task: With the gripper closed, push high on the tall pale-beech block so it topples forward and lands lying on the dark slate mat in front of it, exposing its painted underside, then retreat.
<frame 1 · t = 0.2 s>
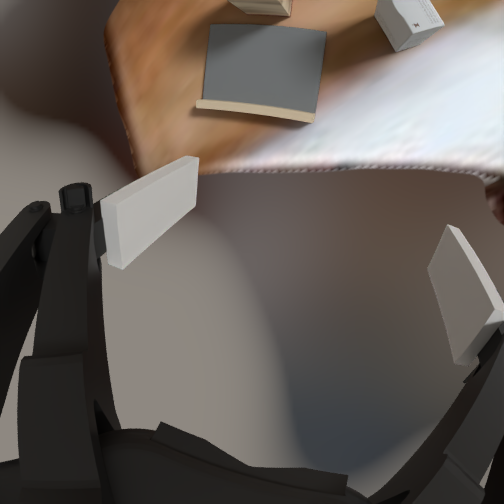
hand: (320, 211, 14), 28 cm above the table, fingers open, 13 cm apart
slate mat: (261, 68, 35), on the table
beech block: (270, 1, 29), on the table
skincare box: (395, 29, 27), on the table
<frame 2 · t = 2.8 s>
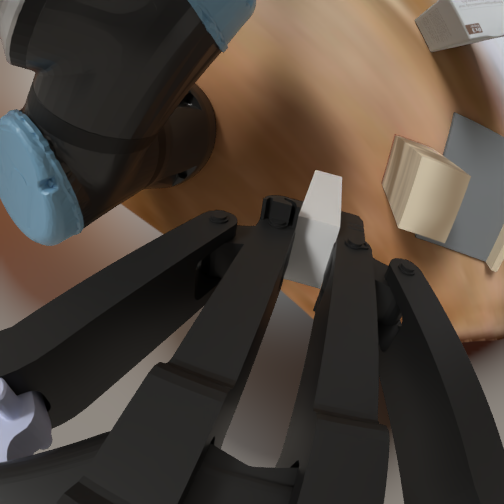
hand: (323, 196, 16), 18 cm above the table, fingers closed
slate mat: (478, 193, 28), on the table
beech block: (406, 164, 30), on the table
skincare box: (442, 33, 20), on the table
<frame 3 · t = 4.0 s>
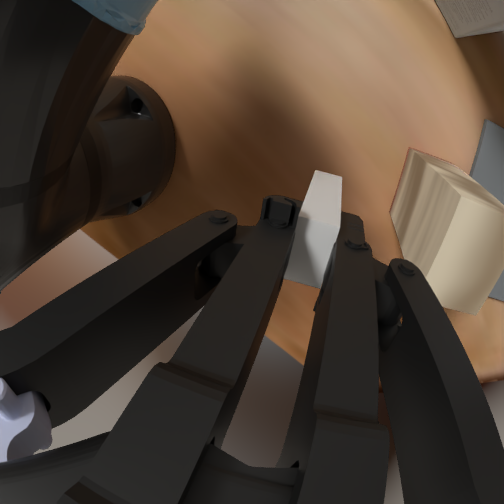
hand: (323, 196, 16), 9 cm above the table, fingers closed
beech block: (422, 188, 22), on the table
skincare box: (467, 15, 13), on the table
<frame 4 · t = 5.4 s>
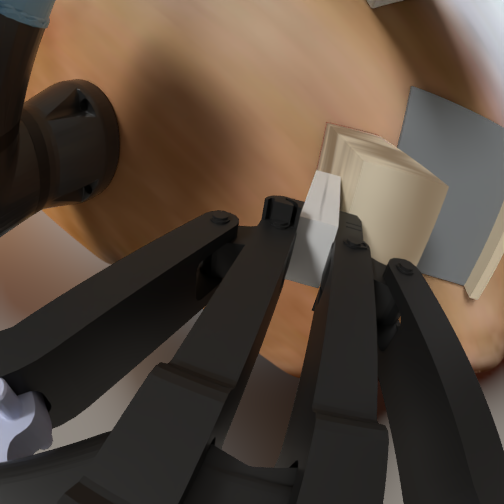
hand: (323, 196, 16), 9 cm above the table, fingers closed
slate mat: (452, 197, 22), on the table
beech block: (345, 162, 23), on the table, tilted 10°, touching gripper
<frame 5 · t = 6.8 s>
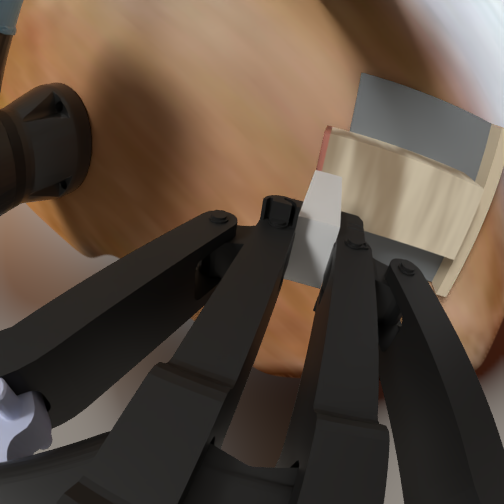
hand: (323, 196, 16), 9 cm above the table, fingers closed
slate mat: (413, 187, 22), on the table
beech block: (317, 166, 21), point 3 cm above the table, tilted 90°, touching slate mat
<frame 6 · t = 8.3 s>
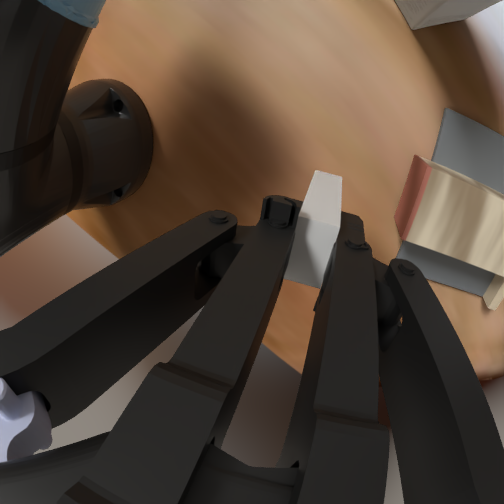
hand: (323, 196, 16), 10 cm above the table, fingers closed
slate mat: (477, 213, 22), on the table
beech block: (409, 194, 21), point 3 cm above the table, tilted 90°, touching slate mat
skincare box: (426, 7, 15), on the table
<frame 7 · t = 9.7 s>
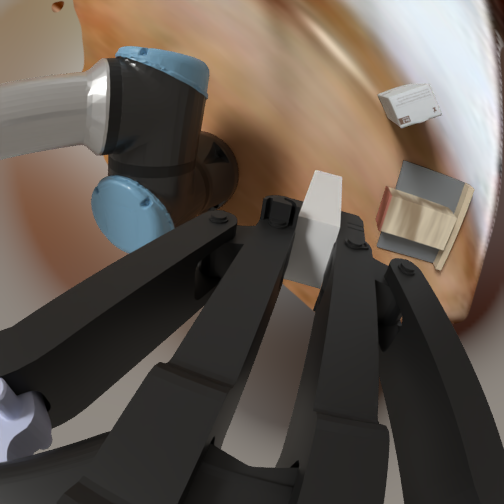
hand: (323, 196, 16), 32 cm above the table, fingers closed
slate mat: (423, 215, 45), on the table
beech block: (382, 207, 44), point 3 cm above the table, tilted 90°, touching slate mat
skincare box: (398, 101, 38), on the table
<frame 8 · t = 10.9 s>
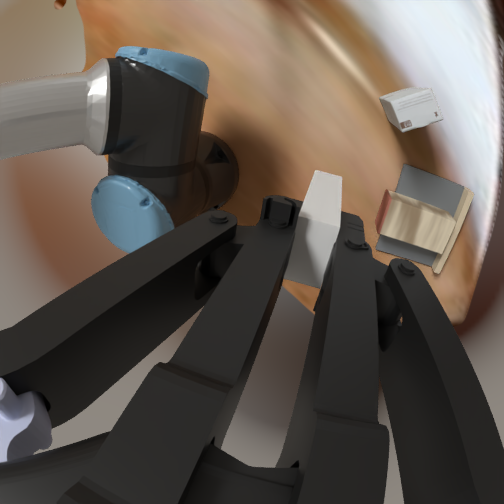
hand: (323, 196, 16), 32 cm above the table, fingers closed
slate mat: (423, 218, 45), on the table
beech block: (381, 210, 44), point 3 cm above the table, tilted 90°, touching slate mat
skincare box: (399, 105, 38), on the table
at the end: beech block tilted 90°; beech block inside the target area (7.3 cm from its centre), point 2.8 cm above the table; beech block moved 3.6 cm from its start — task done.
